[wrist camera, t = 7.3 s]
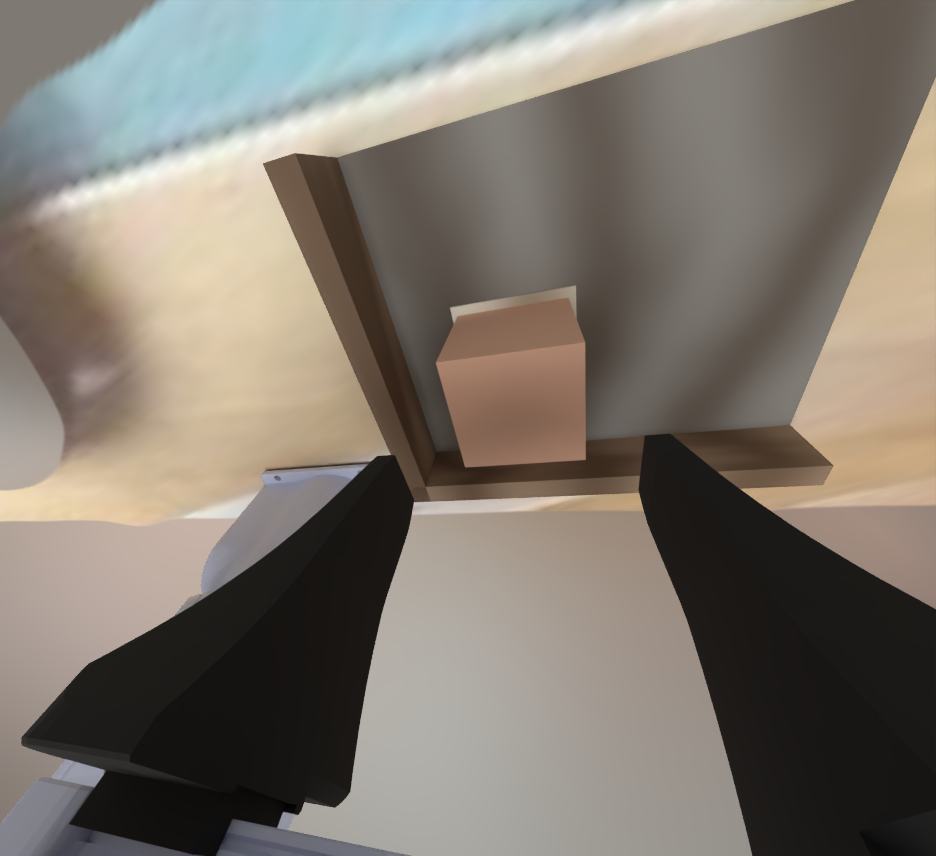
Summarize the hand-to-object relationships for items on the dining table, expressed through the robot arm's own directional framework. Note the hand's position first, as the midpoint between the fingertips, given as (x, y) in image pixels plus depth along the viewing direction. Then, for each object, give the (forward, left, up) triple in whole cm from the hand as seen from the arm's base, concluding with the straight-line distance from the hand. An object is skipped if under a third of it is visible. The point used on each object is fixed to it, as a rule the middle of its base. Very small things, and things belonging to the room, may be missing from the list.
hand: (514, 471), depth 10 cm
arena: (+3, +1, -9) cm, 10 cm away
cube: (0, 0, -8) cm, 8 cm away
